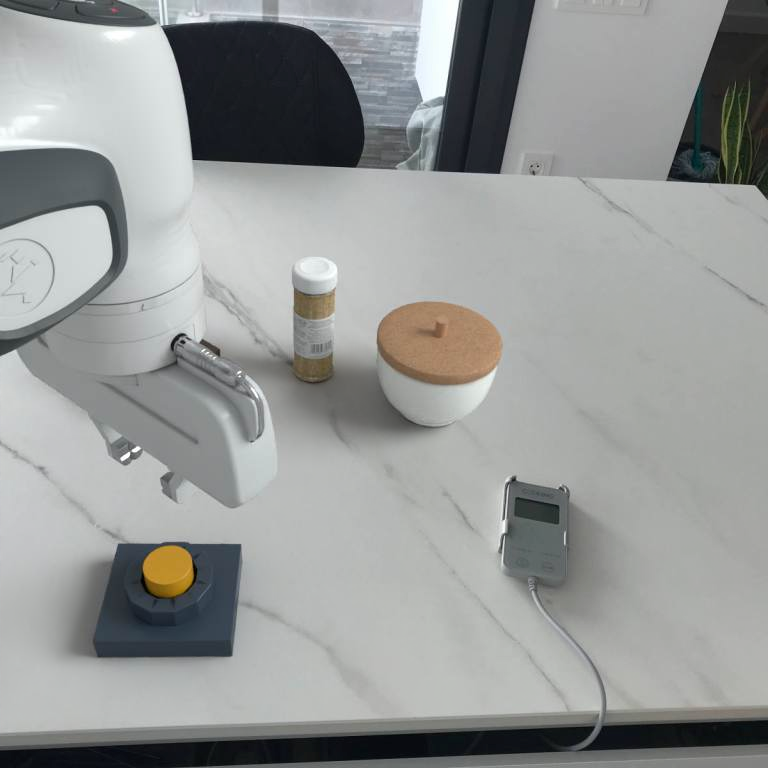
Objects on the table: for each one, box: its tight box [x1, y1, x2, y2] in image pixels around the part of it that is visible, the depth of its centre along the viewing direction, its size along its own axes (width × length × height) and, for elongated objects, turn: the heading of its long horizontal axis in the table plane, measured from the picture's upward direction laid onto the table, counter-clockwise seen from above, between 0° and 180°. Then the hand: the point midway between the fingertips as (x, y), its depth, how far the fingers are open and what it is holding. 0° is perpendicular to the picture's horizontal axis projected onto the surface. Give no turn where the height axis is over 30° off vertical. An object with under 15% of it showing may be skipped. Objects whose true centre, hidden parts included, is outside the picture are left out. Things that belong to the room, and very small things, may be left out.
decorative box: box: [376, 301, 503, 428], centre depth 80 cm, size 13×13×11 cm
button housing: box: [92, 541, 243, 658], centre depth 61 cm, size 10×9×4 cm
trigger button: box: [143, 546, 194, 598], centre depth 59 cm, size 4×4×2 cm
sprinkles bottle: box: [291, 256, 338, 383], centre depth 82 cm, size 5×5×14 cm
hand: (152, 474), depth 52 cm, fingers open, 4 cm apart
